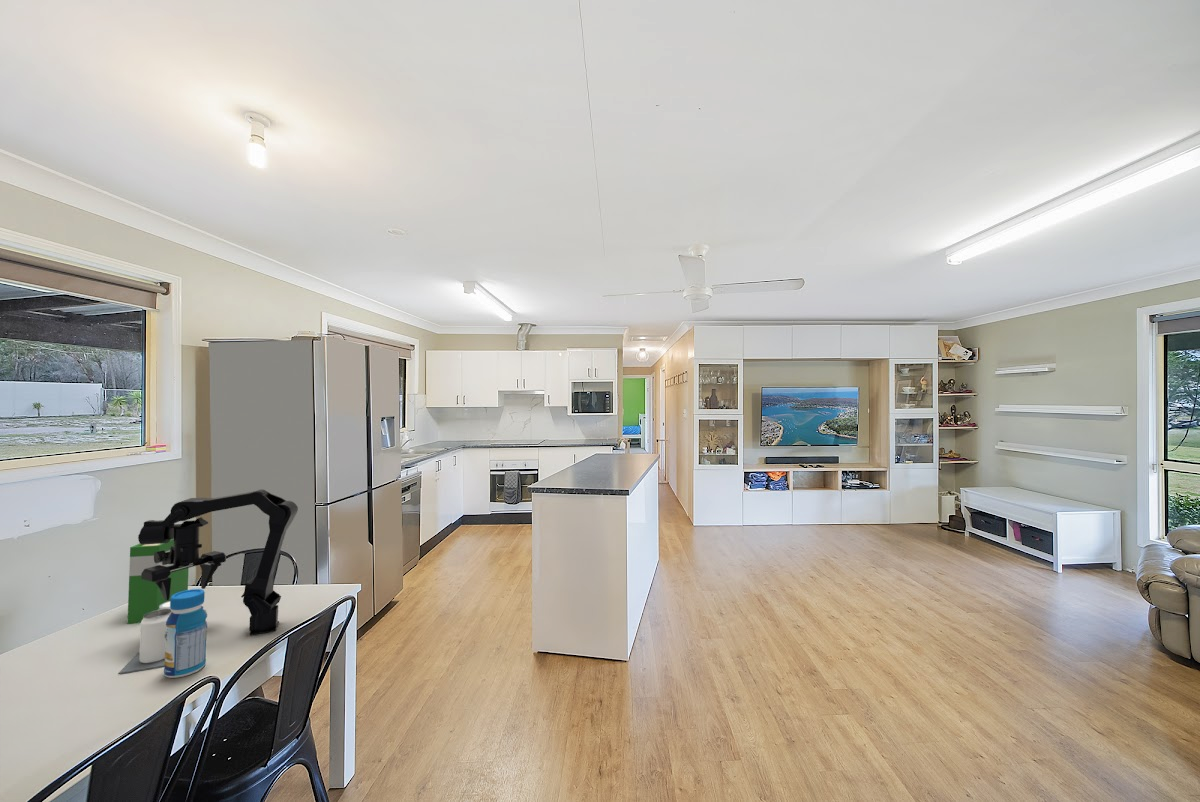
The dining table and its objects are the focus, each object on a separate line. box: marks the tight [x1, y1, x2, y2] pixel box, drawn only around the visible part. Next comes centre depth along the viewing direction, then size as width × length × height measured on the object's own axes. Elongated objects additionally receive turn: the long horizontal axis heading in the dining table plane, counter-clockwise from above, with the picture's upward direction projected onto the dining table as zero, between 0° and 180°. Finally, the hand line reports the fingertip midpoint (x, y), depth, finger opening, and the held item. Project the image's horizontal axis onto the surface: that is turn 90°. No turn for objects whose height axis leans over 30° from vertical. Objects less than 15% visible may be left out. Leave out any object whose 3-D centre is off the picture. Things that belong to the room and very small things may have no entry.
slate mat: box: [117, 651, 165, 675], centre depth 127 cm, size 11×11×1 cm
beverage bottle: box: [163, 588, 209, 679], centre depth 122 cm, size 8×8×20 cm
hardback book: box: [126, 538, 189, 625], centre depth 156 cm, size 18×7×24 cm, turn 17°
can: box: [139, 609, 171, 664], centre depth 127 cm, size 6×6×12 cm
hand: (185, 594), depth 139 cm, fingers open, 9 cm apart
